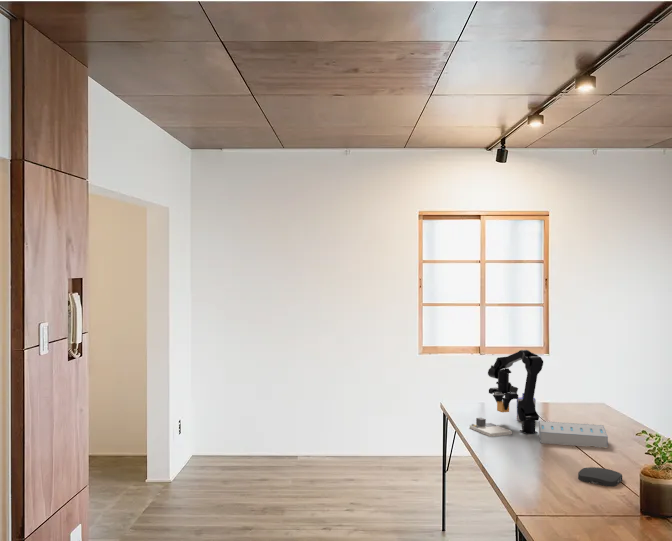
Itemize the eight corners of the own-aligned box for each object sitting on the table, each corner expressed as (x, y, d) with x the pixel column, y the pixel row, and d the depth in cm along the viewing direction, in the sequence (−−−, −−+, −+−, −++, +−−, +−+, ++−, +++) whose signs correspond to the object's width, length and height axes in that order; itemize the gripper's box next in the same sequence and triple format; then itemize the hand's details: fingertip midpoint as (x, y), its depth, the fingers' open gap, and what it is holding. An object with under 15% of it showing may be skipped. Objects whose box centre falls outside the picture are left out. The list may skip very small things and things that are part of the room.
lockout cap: (509, 411, 342) (509, 402, 342) (502, 412, 341) (502, 403, 341) (503, 410, 346) (504, 400, 346) (497, 410, 345) (497, 401, 345)
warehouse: (540, 443, 304) (540, 428, 304) (538, 436, 318) (538, 421, 318) (607, 448, 296) (607, 432, 296) (603, 440, 310) (603, 425, 310)
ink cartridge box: (534, 419, 352) (534, 393, 352) (536, 421, 347) (536, 395, 347) (516, 418, 354) (516, 392, 354) (517, 420, 348) (517, 394, 348)
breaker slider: (485, 425, 330) (485, 419, 330) (480, 426, 328) (480, 419, 328) (481, 424, 333) (481, 417, 333) (476, 424, 332) (476, 418, 332)
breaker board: (512, 434, 320) (512, 429, 320) (490, 436, 315) (490, 432, 315) (490, 425, 337) (490, 421, 337) (469, 427, 332) (469, 423, 332)
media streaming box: (587, 471, 262) (587, 464, 262) (624, 479, 253) (624, 471, 253) (575, 480, 251) (575, 473, 251) (614, 488, 242) (614, 481, 242)
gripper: (526, 382, 338) (526, 411, 338) (504, 376, 355) (504, 404, 355) (509, 383, 334) (509, 413, 334) (488, 377, 351) (488, 406, 351)
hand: (503, 409), depth 343 cm, fingers closed on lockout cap, 4 cm apart
